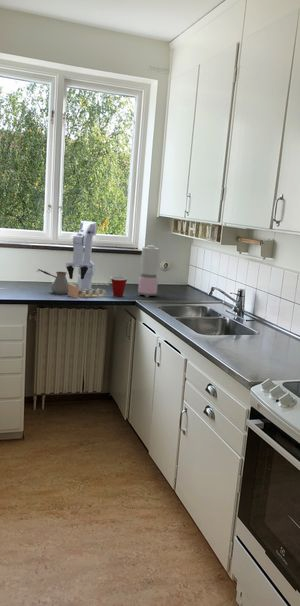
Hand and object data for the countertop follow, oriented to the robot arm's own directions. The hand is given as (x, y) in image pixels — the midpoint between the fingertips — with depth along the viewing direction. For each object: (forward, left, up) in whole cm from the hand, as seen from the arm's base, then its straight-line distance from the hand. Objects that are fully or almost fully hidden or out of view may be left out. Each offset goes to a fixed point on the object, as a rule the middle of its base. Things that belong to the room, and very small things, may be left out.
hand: (76, 279), depth 301 cm
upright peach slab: (-2, -1, -11) cm, 11 cm away
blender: (+6, +50, -11) cm, 52 cm away
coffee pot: (-14, -8, -11) cm, 19 cm away
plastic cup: (+3, +28, -11) cm, 30 cm away
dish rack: (-2, +12, -11) cm, 16 cm away
